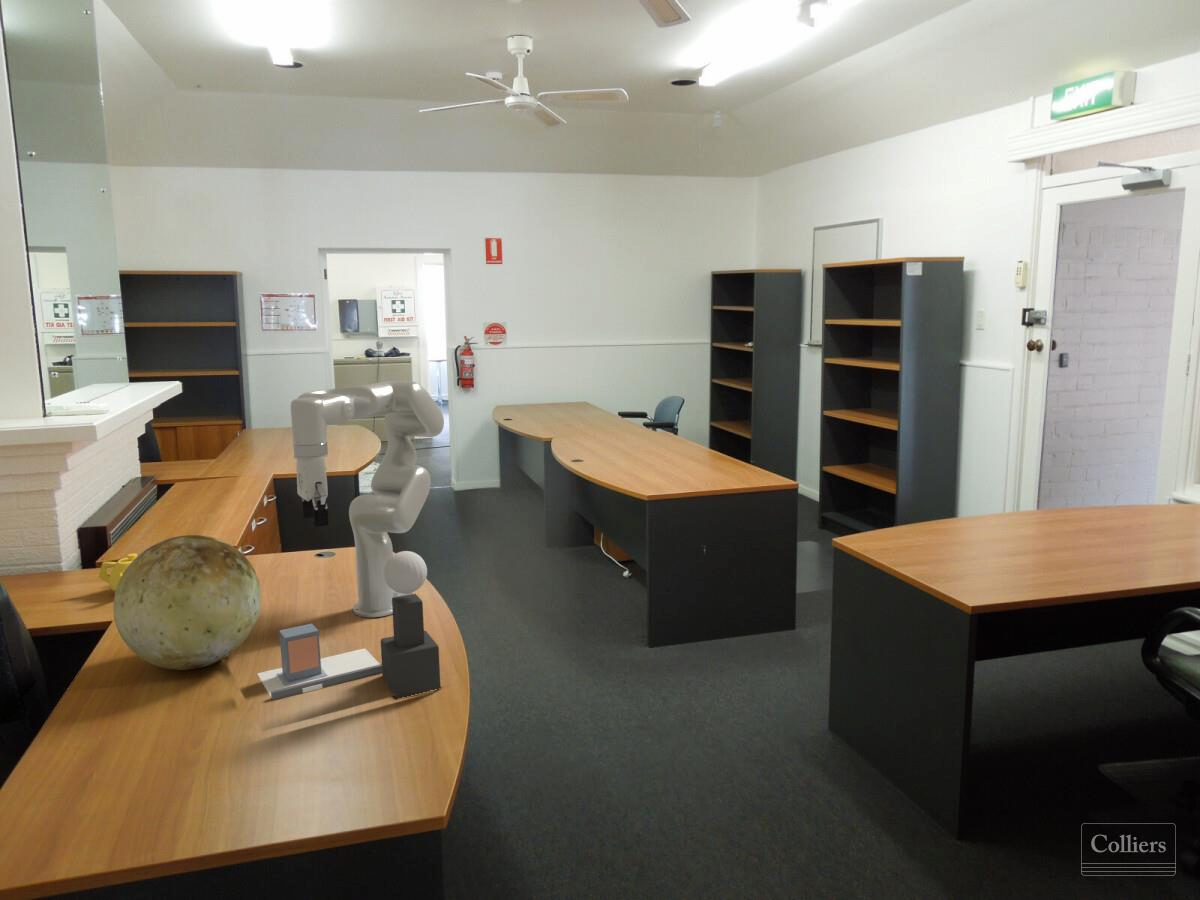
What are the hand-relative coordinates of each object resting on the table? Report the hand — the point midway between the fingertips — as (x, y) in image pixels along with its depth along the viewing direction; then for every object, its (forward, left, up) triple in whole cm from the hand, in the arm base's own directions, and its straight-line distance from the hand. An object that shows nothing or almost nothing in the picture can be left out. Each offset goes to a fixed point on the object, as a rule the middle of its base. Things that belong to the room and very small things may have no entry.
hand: (315, 521), depth 199 cm
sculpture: (-9, +35, -31) cm, 47 cm away
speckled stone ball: (+28, -4, -31) cm, 42 cm away
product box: (+10, +19, -29) cm, 36 cm away
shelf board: (+6, +20, -30) cm, 37 cm away
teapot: (+35, -68, -31) cm, 82 cm away
